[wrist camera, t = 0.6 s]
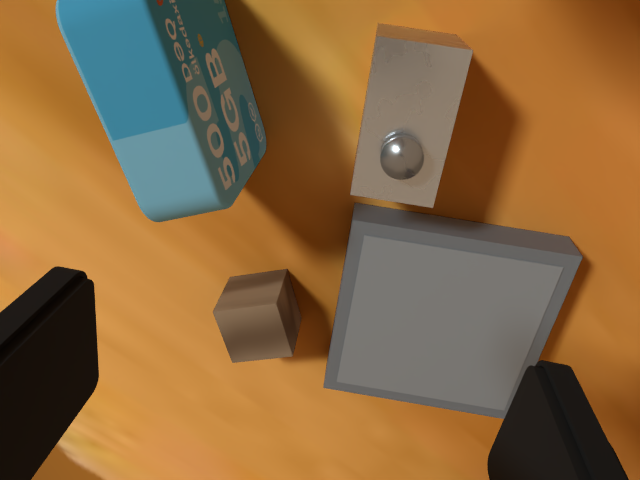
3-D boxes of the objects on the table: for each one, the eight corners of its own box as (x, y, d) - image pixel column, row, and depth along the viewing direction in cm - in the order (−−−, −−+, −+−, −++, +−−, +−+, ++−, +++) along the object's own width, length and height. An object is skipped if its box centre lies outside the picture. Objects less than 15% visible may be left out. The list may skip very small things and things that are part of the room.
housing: (377, 22, 33) (376, 38, 26) (456, 34, 33) (476, 53, 26) (355, 156, 37) (349, 201, 30) (424, 167, 37) (434, 215, 30)
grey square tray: (354, 202, 39) (352, 220, 36) (568, 236, 38) (583, 257, 35) (326, 363, 46) (323, 388, 43) (504, 394, 46) (512, 421, 43)
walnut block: (230, 276, 43) (212, 311, 39) (287, 268, 42) (276, 303, 38) (247, 324, 45) (232, 362, 41) (301, 317, 44) (292, 356, 40)
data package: (270, 147, 37) (226, 218, 27) (213, 159, 38) (149, 233, 28) (214, -35, 32) (132, -35, 22) (149, -15, 33) (40, -6, 23)
